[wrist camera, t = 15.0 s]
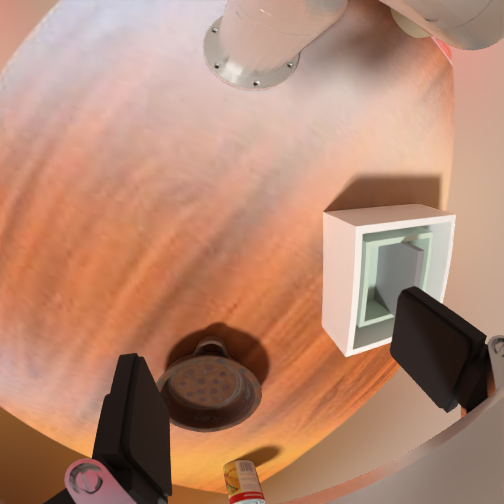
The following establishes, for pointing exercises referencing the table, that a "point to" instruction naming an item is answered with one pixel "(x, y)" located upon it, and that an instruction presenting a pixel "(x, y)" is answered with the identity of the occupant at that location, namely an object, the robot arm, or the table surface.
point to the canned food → (243, 483)
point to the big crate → (349, 267)
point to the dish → (209, 390)
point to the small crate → (391, 270)
